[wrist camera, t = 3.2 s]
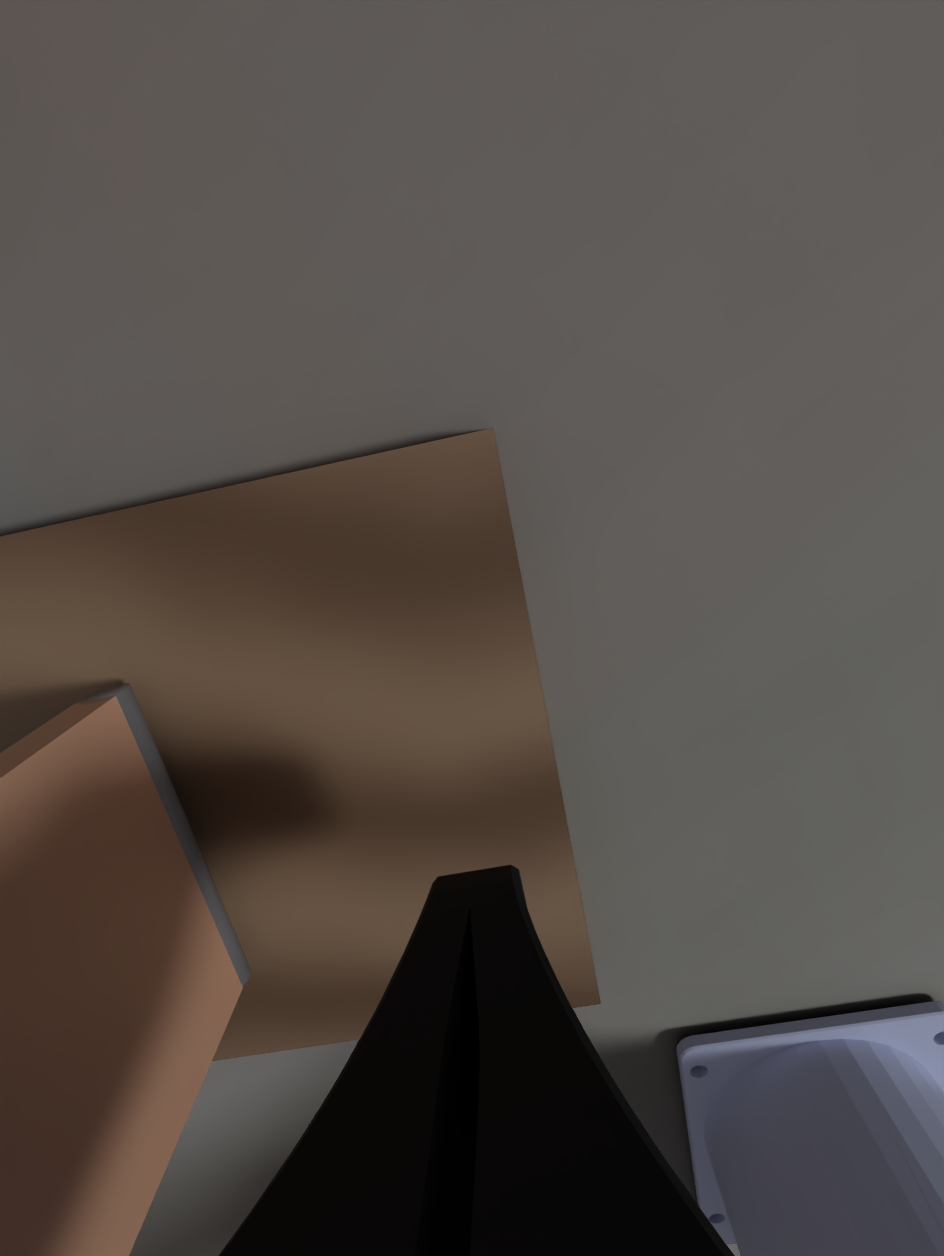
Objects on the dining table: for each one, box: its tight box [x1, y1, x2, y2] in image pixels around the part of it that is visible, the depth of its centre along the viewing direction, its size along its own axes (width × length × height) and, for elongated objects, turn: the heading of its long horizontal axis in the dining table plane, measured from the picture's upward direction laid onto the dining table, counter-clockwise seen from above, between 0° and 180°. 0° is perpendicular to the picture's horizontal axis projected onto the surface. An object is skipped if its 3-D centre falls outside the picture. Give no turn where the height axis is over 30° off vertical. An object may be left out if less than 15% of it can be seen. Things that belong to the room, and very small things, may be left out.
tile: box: [0, 683, 251, 1256], centre depth 10 cm, size 8×7×1 cm
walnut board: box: [0, 428, 601, 1061], centre depth 15 cm, size 15×18×1 cm
